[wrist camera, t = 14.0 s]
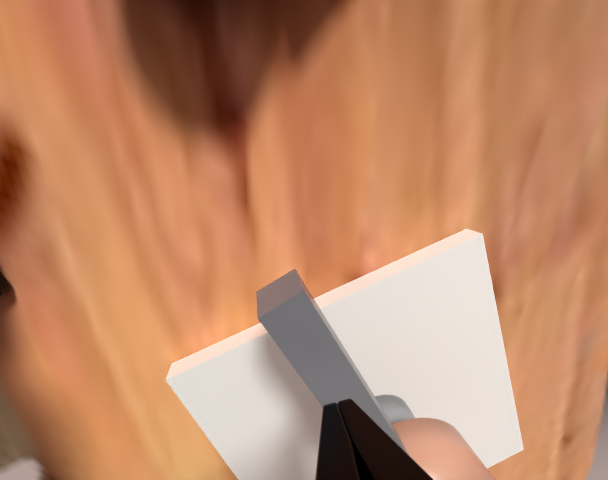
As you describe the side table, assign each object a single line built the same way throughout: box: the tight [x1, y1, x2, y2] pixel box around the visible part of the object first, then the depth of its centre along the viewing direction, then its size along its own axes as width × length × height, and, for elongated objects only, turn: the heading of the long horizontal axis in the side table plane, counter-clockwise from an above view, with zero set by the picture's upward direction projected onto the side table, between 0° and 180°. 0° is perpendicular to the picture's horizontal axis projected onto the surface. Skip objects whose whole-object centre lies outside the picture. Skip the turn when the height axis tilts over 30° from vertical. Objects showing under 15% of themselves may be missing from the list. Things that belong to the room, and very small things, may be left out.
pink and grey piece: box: [257, 269, 495, 480], centre depth 12 cm, size 16×7×3 cm, turn 30°
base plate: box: [166, 229, 524, 480], centre depth 17 cm, size 18×18×4 cm
